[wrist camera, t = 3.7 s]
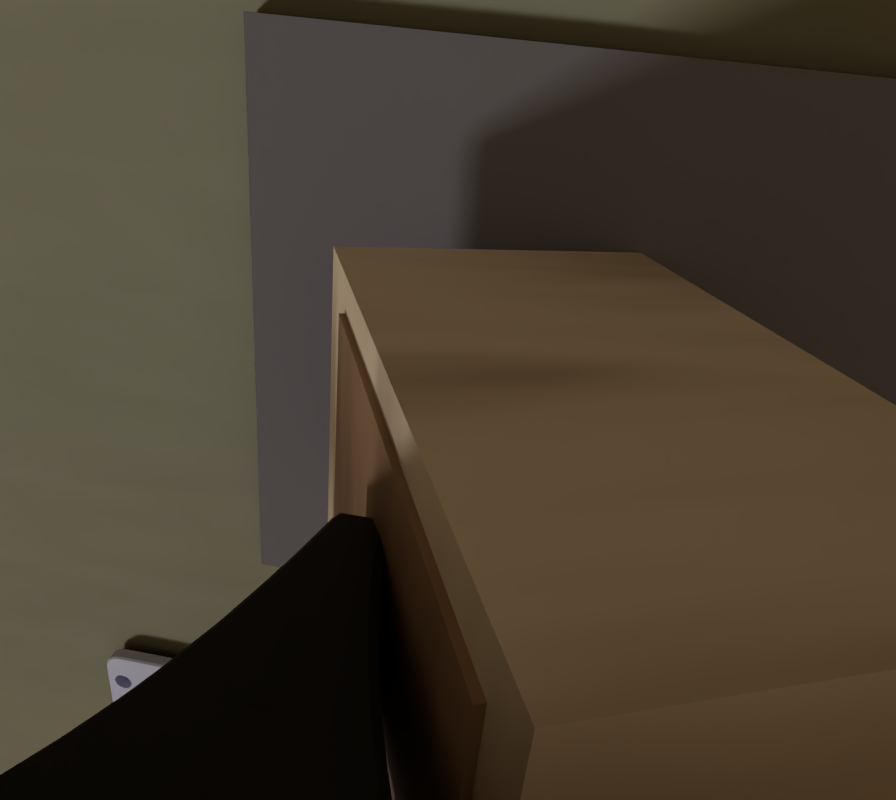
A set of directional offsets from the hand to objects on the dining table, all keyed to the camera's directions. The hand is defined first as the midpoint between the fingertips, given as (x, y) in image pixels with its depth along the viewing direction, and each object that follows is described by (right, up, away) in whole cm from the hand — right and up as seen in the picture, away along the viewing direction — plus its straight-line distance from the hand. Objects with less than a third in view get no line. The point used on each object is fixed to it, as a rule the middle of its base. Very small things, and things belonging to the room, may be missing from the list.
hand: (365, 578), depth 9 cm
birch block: (+2, +2, +5) cm, 6 cm away
